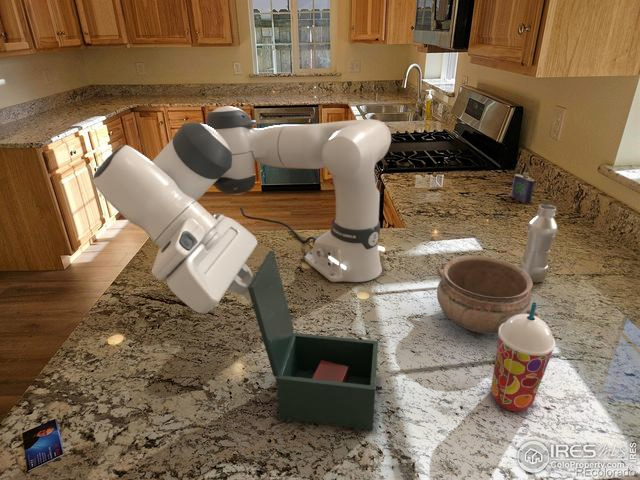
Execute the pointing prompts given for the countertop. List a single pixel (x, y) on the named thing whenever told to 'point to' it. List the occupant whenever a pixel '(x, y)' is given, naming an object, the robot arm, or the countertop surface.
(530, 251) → the plastic bottle
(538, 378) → the smoothie
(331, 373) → the block
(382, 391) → the countertop surface
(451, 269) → the cooking pot
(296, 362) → the bin
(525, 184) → the flask
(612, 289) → the countertop surface
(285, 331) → the bin lid
